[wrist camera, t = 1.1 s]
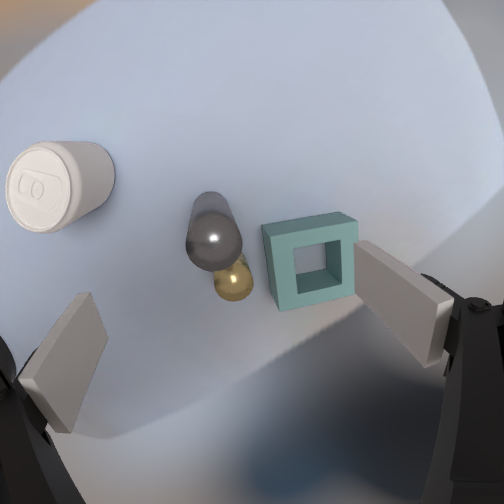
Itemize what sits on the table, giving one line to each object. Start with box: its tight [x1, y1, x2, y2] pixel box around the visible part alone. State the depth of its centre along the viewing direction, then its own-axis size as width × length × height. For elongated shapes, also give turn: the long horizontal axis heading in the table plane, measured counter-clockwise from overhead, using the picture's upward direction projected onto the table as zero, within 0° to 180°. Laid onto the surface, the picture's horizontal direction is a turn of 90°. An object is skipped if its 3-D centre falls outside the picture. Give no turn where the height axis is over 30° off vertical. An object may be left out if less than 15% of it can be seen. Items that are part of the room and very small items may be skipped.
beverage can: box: [5, 141, 115, 233], centre depth 25 cm, size 8×8×12 cm
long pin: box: [186, 192, 242, 271], centre depth 28 cm, size 4×4×14 cm
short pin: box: [214, 252, 253, 301], centre depth 34 cm, size 4×4×6 cm
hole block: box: [262, 212, 358, 312], centre depth 36 cm, size 10×9×5 cm
